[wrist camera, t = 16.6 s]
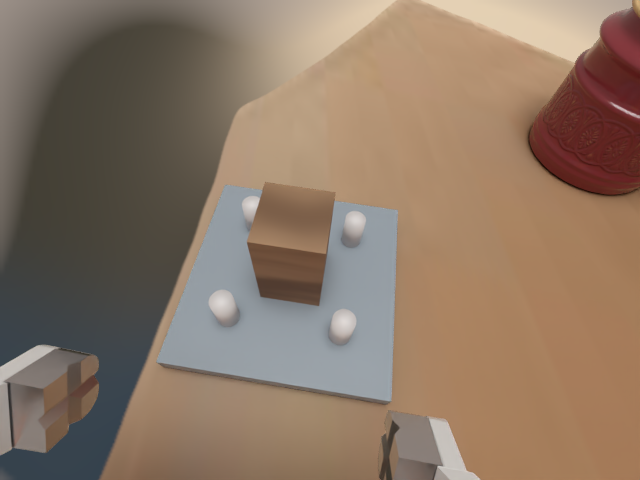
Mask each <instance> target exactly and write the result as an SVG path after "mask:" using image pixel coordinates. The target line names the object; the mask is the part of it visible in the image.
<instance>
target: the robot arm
mask: <svg viewBox="0 0 640 480" xmlns="http://www.w3.org/2000/svg"><path fill="white" fill-rule="evenodd" d="M98 364H99V363H98V358H97V357H96V356H95V355H92V354H88V353H82V352H78V351H74V350H69V349H64V348H58V347H54V346H49V345H39V346H36V347H35V348H33V349H31V350H29V351H27V352H26V353H24V354H22V355H20V356H19V357H17V358H15V359H13V360H12V361H10V362H8V363H7V364H5V365H3V366H1V367H0V455H2V454H4V453H6V452H8V451H9V450H11V449H12V447H13V448H19V449H25V450H31V451H37V452H43V453H46V452H48V451H49V450H50V449H51V448H52V447H53V446H54V445H55V444H56V443H57V442H58V441H59V440H60V439H61V438H62V437H63V436H65V435H66V434H67V433H68V429H69V424H71V423H74V422H76V421H79V420H81V419H82V418H83V417H84V416H85V415H86V414H87V413H88V412H89V411H90V410H91V408H92V406H93V405H94V403H95V401H96V399H97V395H98V392H99V383H98V381H97V380H96V378H95V376H94V374H95V373H96V371H97V370H98V369H99V365H98ZM385 430H386V433H385V434H384V435H383V436H382V437H381V441H380V446H379V455H378V472H379V478H380V479H381V480H480V479H479V478H478V477H477V476H476V475H475V474H474V473H473V472H468V471H467V470H466V467H465V465H464V462H463V460H462V457H461V455H460V452H459V450H458V447H457V444H456V442H455V439H454V437H453V434H452V432H451V429H450V427H449V424H448V422H447V421H446V420H445V419H442V418H436V417H429V416H426V417H425V416H419V415H414V414H408V413H403V412H397V411H392V410H388V412H387V415H386V419H385Z"/></svg>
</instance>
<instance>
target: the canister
mask: <svg viewBox="0 0 640 480" xmlns="http://www.w3.org/2000/svg"><path fill="white" fill-rule="evenodd" d="M632 5H633V7H631V8H630V9H626V10H622V11H619V12H616V13H614V14H611V15H610V16H608V17H607V18H606V19H605V20H604V21H603V23H602V24H601V28H600V38H599V39H598V40H597V42H596V43H595V44H594V45H593V47H592V48H590V49H588V50H586V51H585V52H583V53H582V54H581V55H580V56H579V57H578V58H577V60H576V62H575V66H574V67H573V69H572V70H571V71H570V73H569V74H568V76H567V77H566V78H565V80H564V81H563V83H562V84H561V86H560V87H559V88H558V90H557V91H556V93H555V94H554V95H553V97H552V98H551V100H550V101H549V102H548V104H547V105H545V106H544V107H543V108H542V109H541V111H540V113H539V114H538V115H537V117H536V118H535V120H534V123H533V126H532V128H531V130H530V134H529V141H530V145H531V148H532V150H533V152H534V154H535V155H536V157H537V158H538V159H539V161H540V162H541V163H542V164H543V165H544V166H545V167H546V168H547V169H548V170H549V171H551V172H552V173H553V174H554V175H556V176H557V177H559V178H560V179H562V180H564V181H566V182H568V183H570V184H572V185H574V186H576V187H579V188H581V189H584V190H587V191H591V192H595V193H601V194H611V195H614V194H624V193H628V192H631V191H633V190H635V189H637V188H638V187H640V0H632Z"/></svg>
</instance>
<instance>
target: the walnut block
mask: <svg viewBox="0 0 640 480" xmlns="http://www.w3.org/2000/svg"><path fill="white" fill-rule="evenodd" d="M335 193H336V192H329V191H323V190H316V189H309V188H302V187H295V186H288V185H281V184H275V183H268V182H265V184H264V187H263V191H262V194H261V197H260V200H259V204H258V207H257V210H256V213H255V217H254V220H253V223H252V226H251V230H250V233H249V236H248V239H247V245H248V249H249V253H250V257H251V261H252V265H253V269H254V273H255V277H256V281H257V285H258V289H259V293H260V297H264V298H271V299H277V300H283V301H290V302H296V303H302V304H309V305H315V306H319V303H320V297H321V291H322V284H323V278H324V271H325V265H326V259H327V252H328V244H329V237H330V230H331V223H332V215H333V208H334V201H335Z"/></svg>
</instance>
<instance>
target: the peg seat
mask: <svg viewBox="0 0 640 480" xmlns="http://www.w3.org/2000/svg"><path fill="white" fill-rule="evenodd" d="M262 191H263V190H258V189H251V188H244V187H237V186H231V185H225V187H224V189H223V192H222V194H221V197H220V199H219V202H218V205H217V207H216V210H215V212H214V215H213V217H212V220H211V223H210V225H209V228H208V230H207V233H206V235H205V238H204V241H203V243H202V246H201V248H200V251H199V253H198V256H197V259H196V261H195V264H194V266H193V269H192V271H191V274H190V276H189V279H188V282H187V284H186V287H185V289H184V292H183V294H182V297H181V300H180V302H179V305H178V307H177V310H176V312H175V315H174V318H173V320H172V323H171V325H170V328H169V330H168V333H167V336H166V338H165V341H164V343H163V346H162V348H161V351H160V354H159V356H158V359H157V361H156V362H157V363H158V364H160V365H161V366H163V367H167V368H173V369H179V370H185V371H191V372H197V373H203V374H209V375H215V376H221V377H227V378H233V379H239V380H245V381H251V382H256V383H262V384H268V385H274V386H280V387H286V388H292V389H298V390H304V391H310V392H316V393H322V394H328V395H334V396H340V397H346V398H351V399H357V400H363V401H369V402H375V403H381V404H388V403H390V402H391V395H392V366H393V336H394V306H395V277H396V247H397V218H398V210H393V209H386V208H379V207H373V206H366V205H359V204H352V203H346V202H339V201H334V208H333V215H332V223H331V230H330V237H329V244H328V252H327V259H326V265H325V271H324V278H323V284H322V291H321V297H320V303H319V306H315V305H309V304H302V303H296V302H290V301H283V300H277V299H271V298H264V297H260V293H259V289H258V285H257V281H256V277H255V273H254V269H253V265H252V261H251V257H250V253H249V249H248V245H247V239H248V236H249V233H250V230H251V226H252V223H253V220H254V217H255V213H256V210H257V207H258V204H259V200H260V197H261V194H262Z"/></svg>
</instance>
